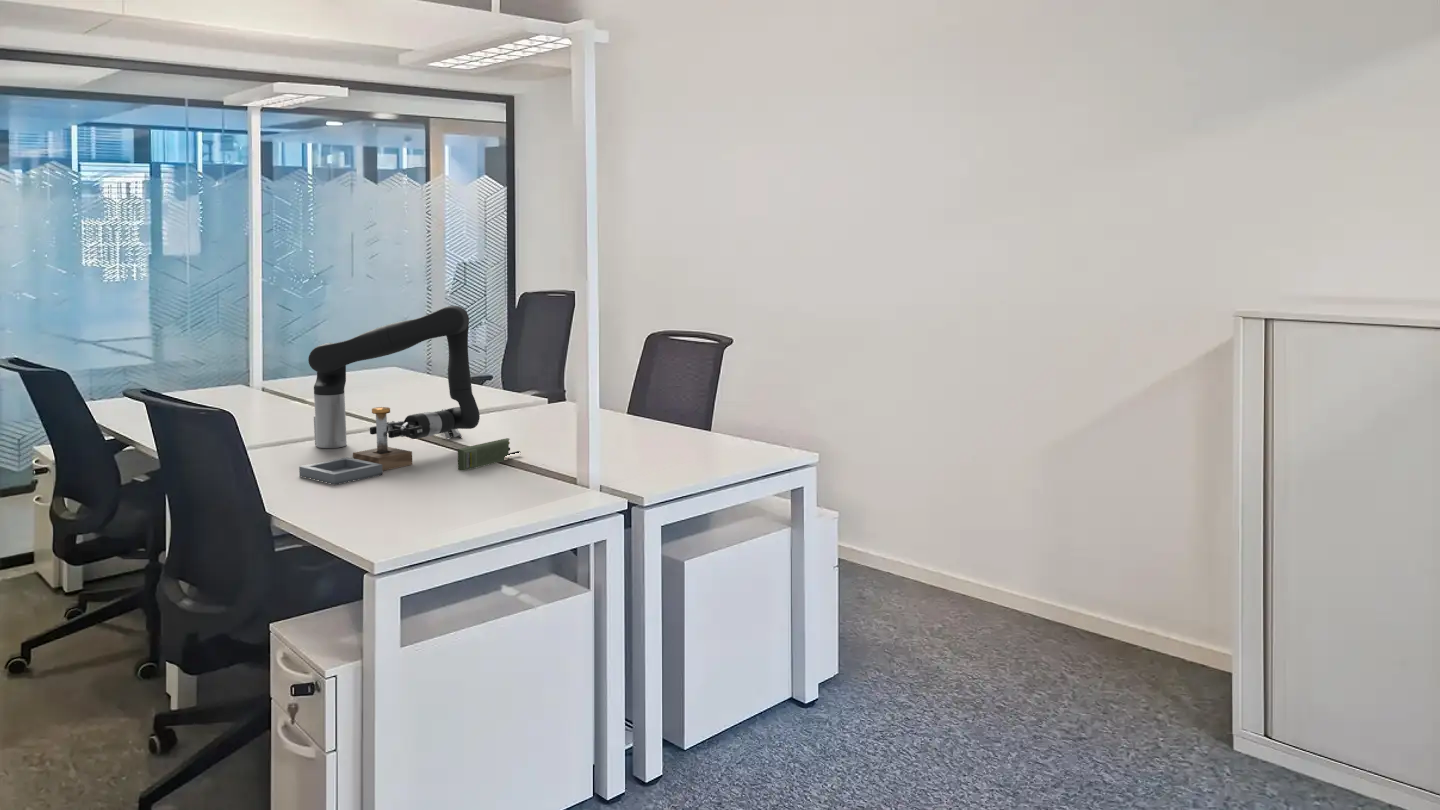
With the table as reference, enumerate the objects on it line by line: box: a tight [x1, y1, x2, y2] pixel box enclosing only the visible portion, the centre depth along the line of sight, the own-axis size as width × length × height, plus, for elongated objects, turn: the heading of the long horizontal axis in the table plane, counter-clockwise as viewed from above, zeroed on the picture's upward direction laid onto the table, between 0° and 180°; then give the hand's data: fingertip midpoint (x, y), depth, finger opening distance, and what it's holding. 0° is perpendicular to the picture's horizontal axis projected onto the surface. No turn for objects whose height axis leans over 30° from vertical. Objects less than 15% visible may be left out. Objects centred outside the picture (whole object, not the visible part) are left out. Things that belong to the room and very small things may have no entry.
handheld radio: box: [457, 437, 521, 472], centre depth 325 cm, size 7×3×25 cm
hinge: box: [441, 408, 463, 439], centre depth 367 cm, size 17×5×10 cm, turn 20°
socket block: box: [352, 446, 413, 472], centre depth 319 cm, size 12×12×4 cm
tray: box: [298, 456, 384, 485], centre depth 305 cm, size 16×16×3 cm
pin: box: [371, 406, 391, 454], centre depth 318 cm, size 5×5×17 cm
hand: (379, 432), depth 317 cm, fingers open, 8 cm apart
